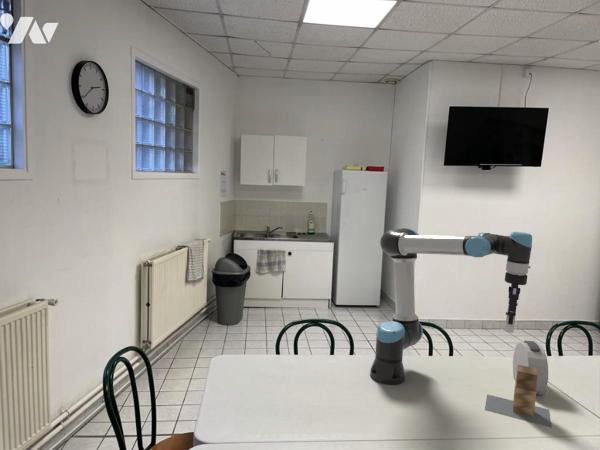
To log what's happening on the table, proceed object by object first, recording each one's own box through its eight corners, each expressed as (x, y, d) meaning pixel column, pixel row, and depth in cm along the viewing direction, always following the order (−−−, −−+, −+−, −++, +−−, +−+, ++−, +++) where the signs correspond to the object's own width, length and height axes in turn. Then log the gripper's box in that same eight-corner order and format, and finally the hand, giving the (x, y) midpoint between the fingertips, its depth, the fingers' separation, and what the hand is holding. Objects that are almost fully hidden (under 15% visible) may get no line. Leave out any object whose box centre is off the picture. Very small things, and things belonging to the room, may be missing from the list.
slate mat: (484, 410, 161) (484, 409, 161) (487, 395, 174) (487, 394, 173) (551, 428, 151) (551, 427, 151) (548, 410, 164) (549, 409, 164)
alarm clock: (546, 400, 172) (551, 353, 170) (526, 397, 173) (531, 351, 171) (528, 376, 192) (533, 334, 190) (511, 374, 194) (515, 333, 192)
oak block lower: (512, 411, 161) (513, 399, 160) (512, 405, 165) (514, 393, 165) (533, 417, 158) (535, 404, 157) (533, 410, 162) (534, 398, 162)
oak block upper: (513, 399, 160) (515, 386, 160) (514, 393, 165) (515, 381, 164) (535, 404, 157) (536, 391, 157) (534, 398, 162) (535, 385, 161)
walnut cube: (516, 387, 159) (517, 370, 158) (516, 380, 165) (517, 364, 164) (535, 392, 156) (537, 375, 155) (535, 384, 162) (536, 368, 161)
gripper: (528, 281, 148) (520, 339, 150) (527, 268, 170) (520, 319, 173) (504, 277, 151) (497, 334, 154) (506, 265, 173) (500, 315, 176)
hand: (509, 326), depth 163 cm, fingers open, 13 cm apart
